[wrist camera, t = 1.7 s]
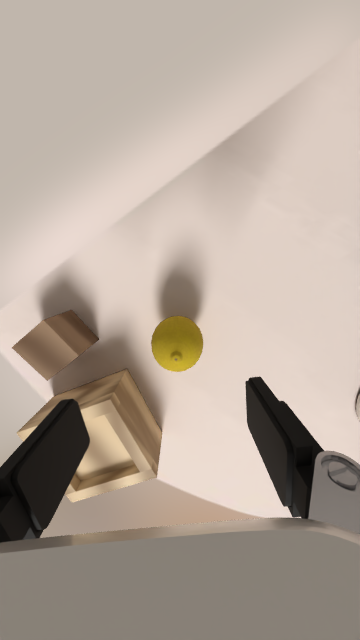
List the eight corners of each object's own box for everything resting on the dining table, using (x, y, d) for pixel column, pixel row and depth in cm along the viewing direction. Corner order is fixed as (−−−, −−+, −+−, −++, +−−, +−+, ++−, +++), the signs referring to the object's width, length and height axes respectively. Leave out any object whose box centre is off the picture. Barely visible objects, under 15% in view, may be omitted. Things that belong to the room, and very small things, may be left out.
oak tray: (127, 368, 25) (109, 399, 19) (162, 433, 28) (156, 477, 22) (53, 396, 27) (16, 432, 21) (94, 455, 29) (71, 502, 23)
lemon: (150, 318, 23) (134, 342, 16) (191, 303, 23) (195, 320, 15) (166, 355, 25) (158, 394, 17) (205, 342, 24) (216, 376, 16)
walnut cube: (72, 309, 23) (43, 320, 18) (99, 339, 24) (78, 356, 19) (45, 332, 24) (11, 347, 19) (73, 359, 25) (47, 380, 20)
